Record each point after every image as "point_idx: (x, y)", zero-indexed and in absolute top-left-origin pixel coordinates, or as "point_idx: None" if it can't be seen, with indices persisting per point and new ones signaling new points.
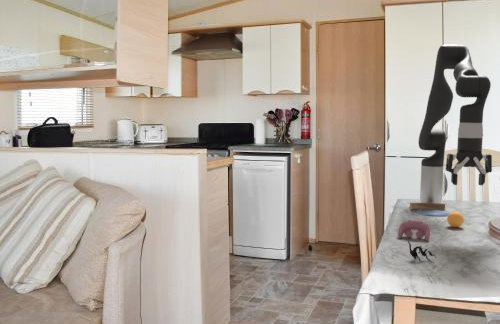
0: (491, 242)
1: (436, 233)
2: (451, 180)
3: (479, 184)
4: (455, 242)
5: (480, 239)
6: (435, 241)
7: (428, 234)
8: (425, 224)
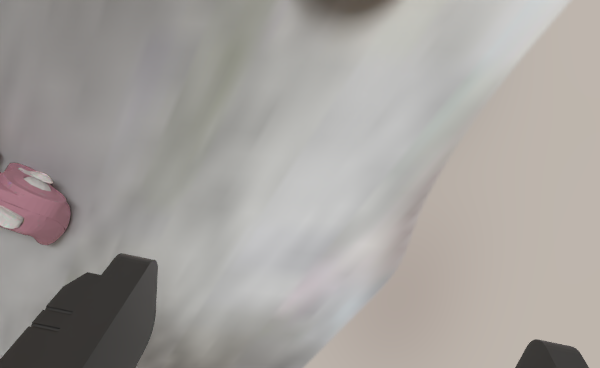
0: (366, 281)
1: (164, 80)
2: (55, 309)
3: (523, 365)
4: (190, 258)
5: (348, 229)
6: (101, 231)
7: (47, 243)
8: (10, 229)
